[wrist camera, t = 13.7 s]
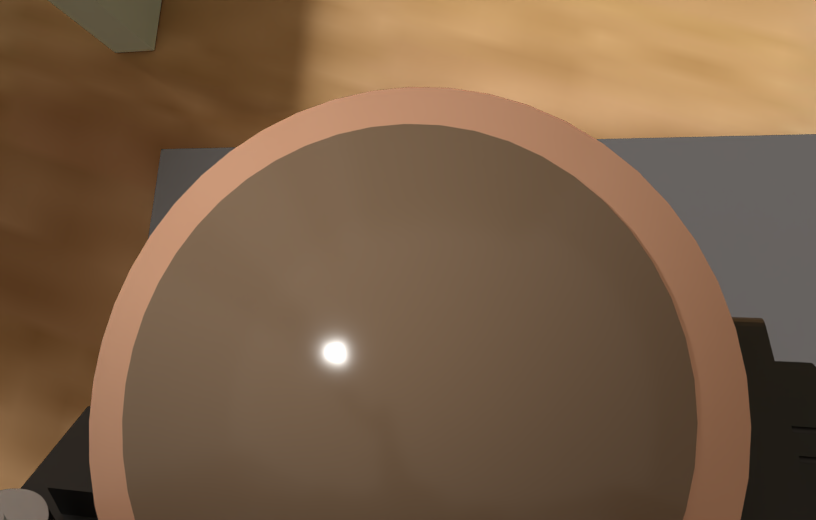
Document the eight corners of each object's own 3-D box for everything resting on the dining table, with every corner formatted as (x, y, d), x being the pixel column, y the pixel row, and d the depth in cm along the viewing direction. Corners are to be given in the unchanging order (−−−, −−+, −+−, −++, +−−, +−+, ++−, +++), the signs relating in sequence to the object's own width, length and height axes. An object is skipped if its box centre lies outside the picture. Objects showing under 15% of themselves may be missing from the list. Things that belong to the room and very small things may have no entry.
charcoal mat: (99, 665, 17) (84, 671, 17) (172, 156, 20) (161, 149, 19) (1053, 835, 12) (1070, 850, 12) (990, 140, 15) (1002, 130, 14)
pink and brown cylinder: (336, 571, 14) (36, 717, 7) (364, 261, 16) (135, 96, 8) (671, 615, 13) (760, 866, 5) (672, 268, 14) (746, 70, 7)
